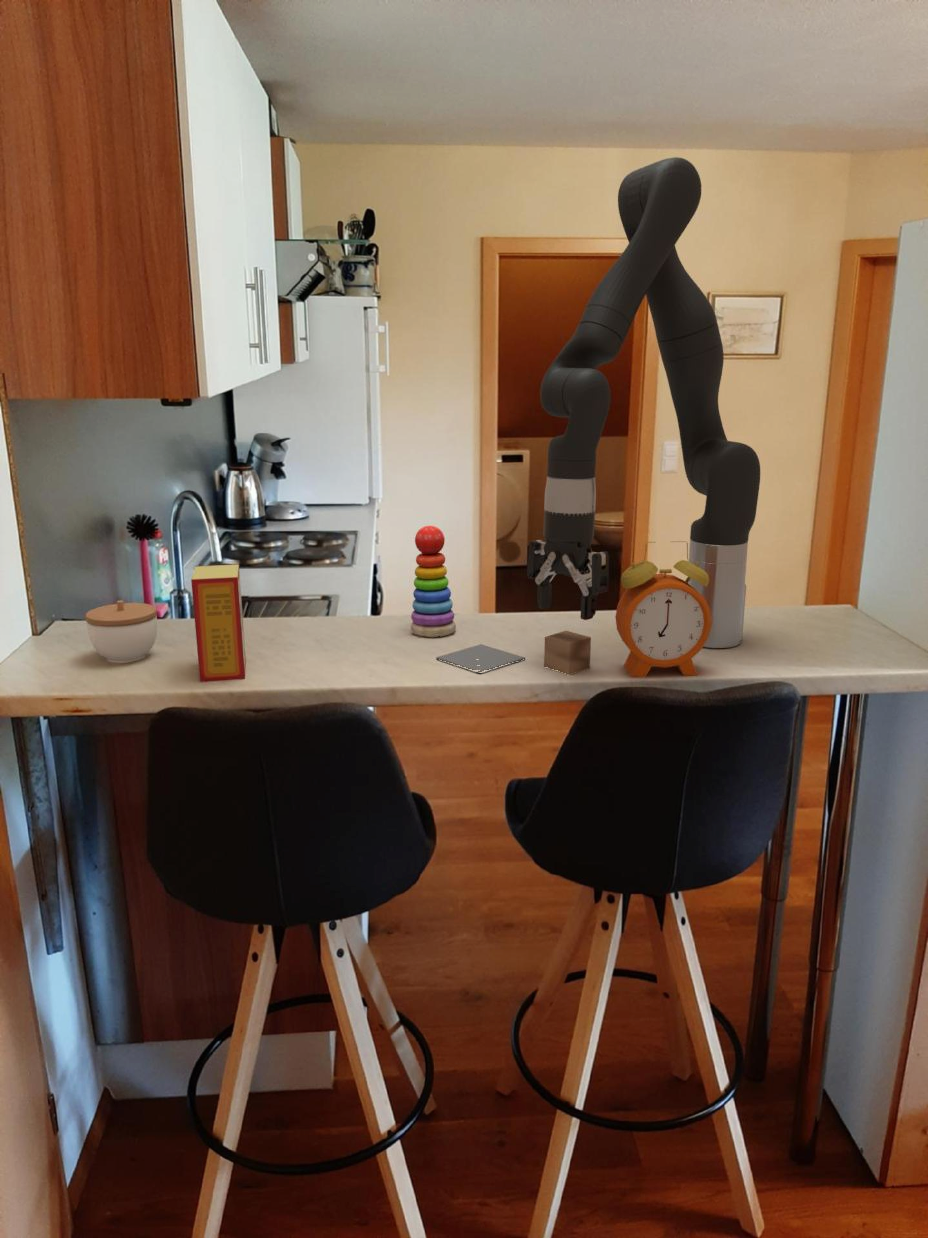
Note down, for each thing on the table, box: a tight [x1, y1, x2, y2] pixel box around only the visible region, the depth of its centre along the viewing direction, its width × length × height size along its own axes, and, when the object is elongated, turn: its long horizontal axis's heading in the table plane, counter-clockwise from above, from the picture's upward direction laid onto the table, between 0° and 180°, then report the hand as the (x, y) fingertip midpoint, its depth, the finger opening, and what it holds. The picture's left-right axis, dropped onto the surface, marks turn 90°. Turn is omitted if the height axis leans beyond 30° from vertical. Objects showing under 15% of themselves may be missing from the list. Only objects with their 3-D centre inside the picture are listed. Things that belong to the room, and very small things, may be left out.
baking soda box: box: [190, 563, 247, 683], centre depth 142 cm, size 10×6×16 cm
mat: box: [435, 643, 526, 672], centre depth 148 cm, size 10×10×1 cm
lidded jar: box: [84, 599, 158, 664], centre depth 150 cm, size 11×11×9 cm
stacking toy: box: [410, 525, 457, 638], centre depth 161 cm, size 8×8×19 cm
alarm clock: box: [614, 540, 711, 678], centre depth 140 cm, size 13×6×20 cm, turn 94°
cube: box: [543, 630, 592, 675], centre depth 144 cm, size 5×5×5 cm
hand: (565, 613), depth 143 cm, fingers open, 8 cm apart
